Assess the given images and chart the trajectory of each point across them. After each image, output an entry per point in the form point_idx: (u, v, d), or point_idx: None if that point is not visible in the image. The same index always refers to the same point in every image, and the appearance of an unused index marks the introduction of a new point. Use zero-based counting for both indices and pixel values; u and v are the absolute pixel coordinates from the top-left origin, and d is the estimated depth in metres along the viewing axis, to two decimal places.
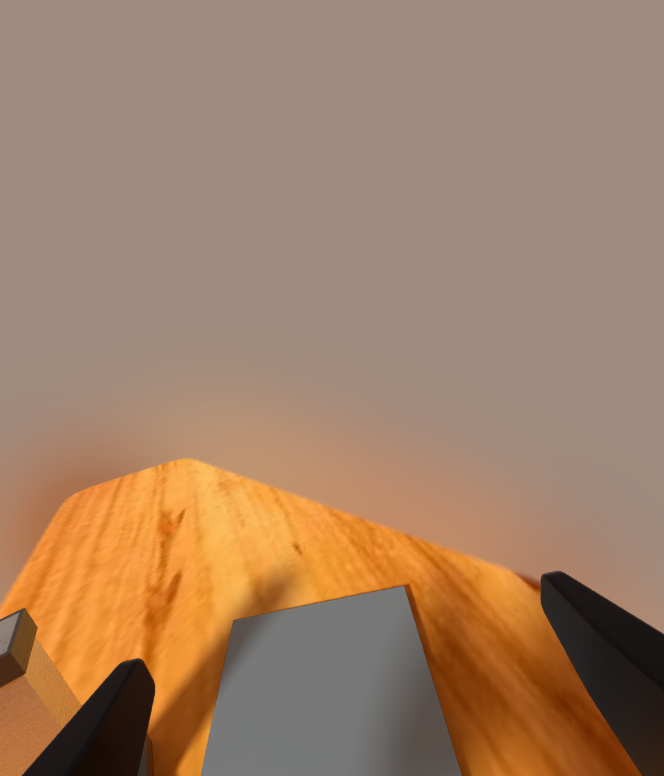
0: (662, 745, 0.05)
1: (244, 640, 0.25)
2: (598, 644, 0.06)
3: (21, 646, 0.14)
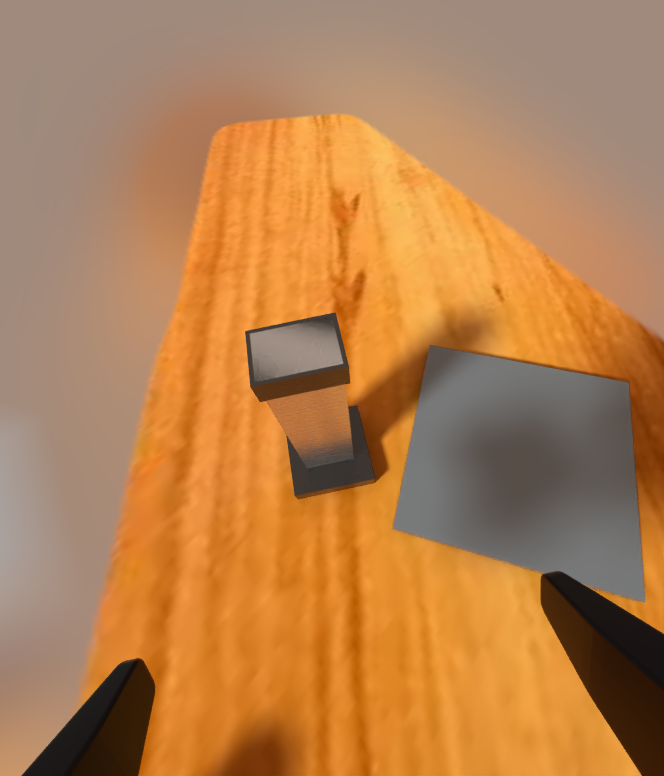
0: (662, 745, 0.05)
1: (442, 368, 0.25)
2: (598, 644, 0.06)
3: None
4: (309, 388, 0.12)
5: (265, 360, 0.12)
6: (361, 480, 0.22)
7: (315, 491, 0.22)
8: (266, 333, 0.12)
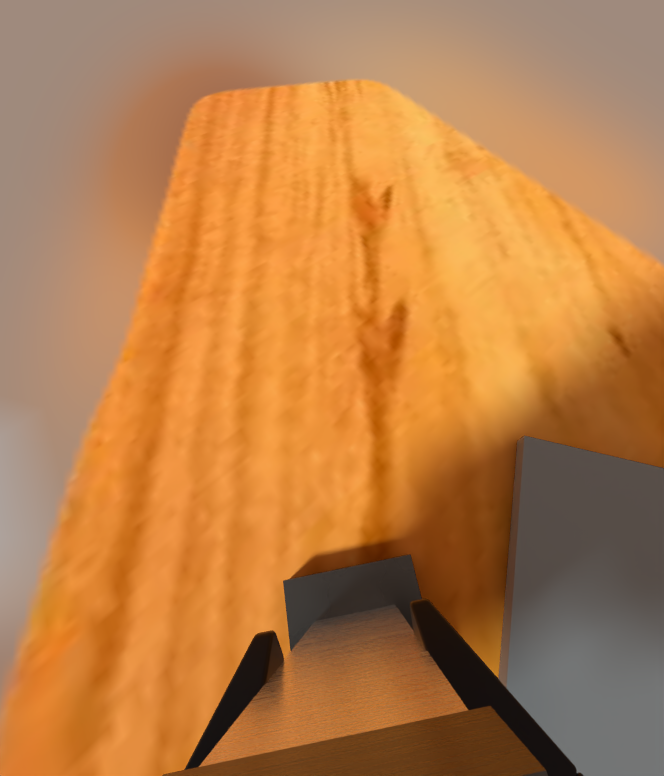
0: None
1: (551, 481, 0.15)
2: None
3: None
4: None
5: None
6: None
7: None
8: None
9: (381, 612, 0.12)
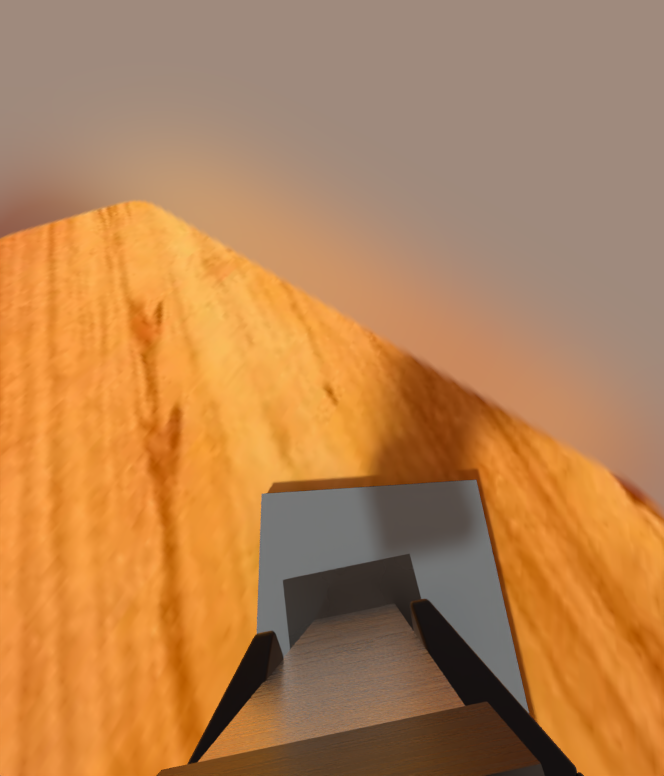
0: None
1: (280, 522, 0.21)
2: None
3: None
4: None
5: None
6: None
7: None
8: None
9: (380, 611, 0.12)
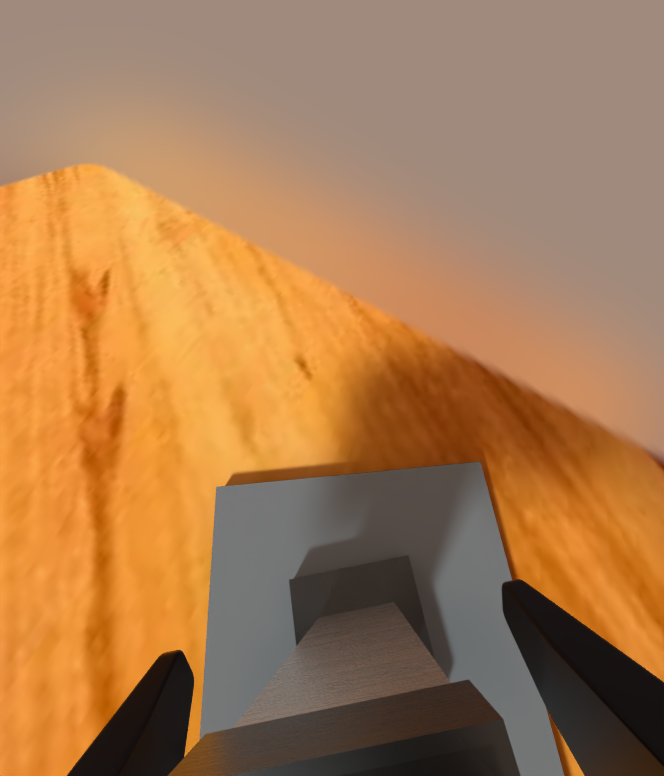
0: (605, 757, 0.05)
1: (238, 521, 0.17)
2: (549, 654, 0.06)
3: None
4: None
5: None
6: None
7: None
8: None
9: (381, 609, 0.13)
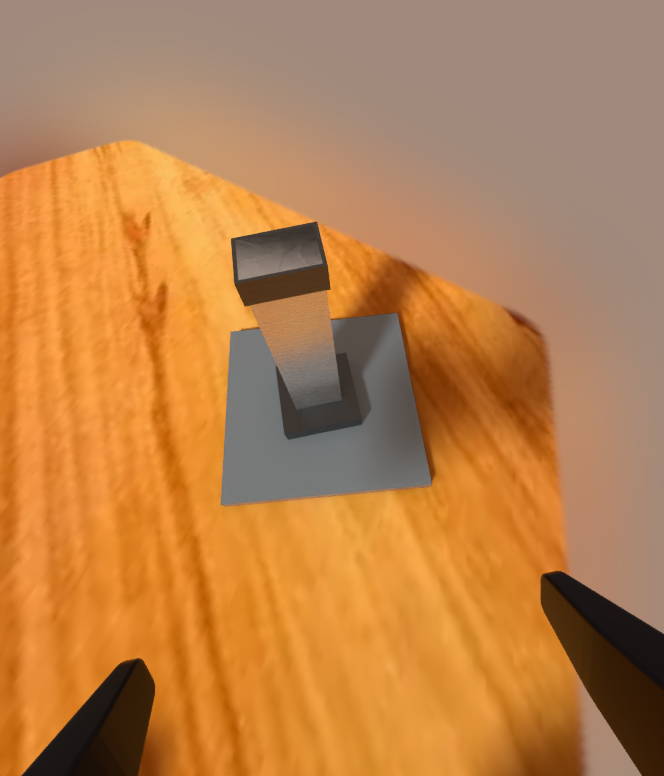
0: (662, 745, 0.05)
1: (245, 348, 0.27)
2: (598, 644, 0.06)
3: None
4: (291, 293, 0.13)
5: (249, 262, 0.13)
6: (348, 419, 0.22)
7: (304, 430, 0.22)
8: (250, 240, 0.13)
9: None
